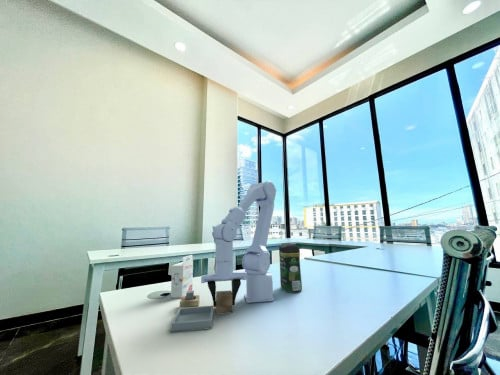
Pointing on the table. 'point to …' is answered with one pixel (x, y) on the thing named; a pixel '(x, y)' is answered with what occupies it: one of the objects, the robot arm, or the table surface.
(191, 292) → the gray metal block
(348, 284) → the table surface
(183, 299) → the wooden square frame
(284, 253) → the coffee jar
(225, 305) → the walnut block
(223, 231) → the robot arm
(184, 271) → the ink cartridge box
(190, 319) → the tray
